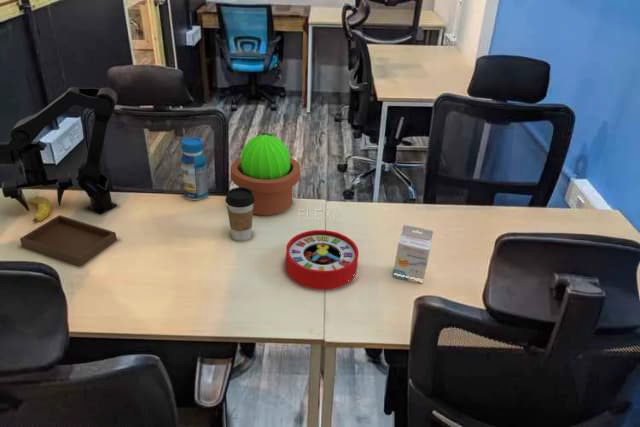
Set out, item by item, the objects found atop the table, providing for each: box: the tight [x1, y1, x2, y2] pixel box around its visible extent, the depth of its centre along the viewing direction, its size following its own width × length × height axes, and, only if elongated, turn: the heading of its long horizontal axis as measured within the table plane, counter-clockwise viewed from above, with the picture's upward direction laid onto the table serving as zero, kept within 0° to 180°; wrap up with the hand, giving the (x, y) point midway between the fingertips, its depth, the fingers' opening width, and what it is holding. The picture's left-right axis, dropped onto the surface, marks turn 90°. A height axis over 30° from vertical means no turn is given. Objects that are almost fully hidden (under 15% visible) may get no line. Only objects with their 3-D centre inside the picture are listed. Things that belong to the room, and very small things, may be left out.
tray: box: [19, 214, 118, 268], centre depth 145 cm, size 21×14×3 cm
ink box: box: [392, 224, 434, 284], centre depth 138 cm, size 8×5×15 cm, turn 72°
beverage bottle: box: [180, 136, 210, 201], centre depth 168 cm, size 8×8×20 cm
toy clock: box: [285, 229, 359, 291], centre depth 141 cm, size 20×6×20 cm
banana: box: [29, 195, 52, 223], centre depth 159 cm, size 15×6×3 cm, turn 28°
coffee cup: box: [225, 186, 255, 242], centre depth 150 cm, size 8×8×15 cm
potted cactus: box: [230, 132, 301, 216], centre depth 165 cm, size 22×22×25 cm
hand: (44, 207), depth 159 cm, fingers open, 8 cm apart
